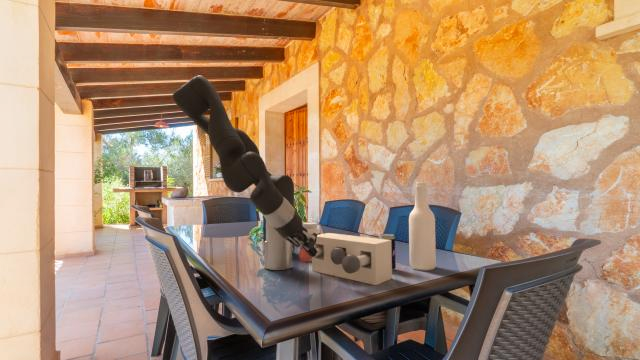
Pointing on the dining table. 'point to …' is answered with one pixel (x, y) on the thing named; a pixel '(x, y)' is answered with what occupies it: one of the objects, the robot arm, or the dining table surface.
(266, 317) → the dining table surface
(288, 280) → the dining table surface
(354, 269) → the knob
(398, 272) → the dining table surface
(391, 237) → the beverage can
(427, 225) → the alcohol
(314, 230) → the pill bottle
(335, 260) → the knob
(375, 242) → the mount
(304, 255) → the red knob
